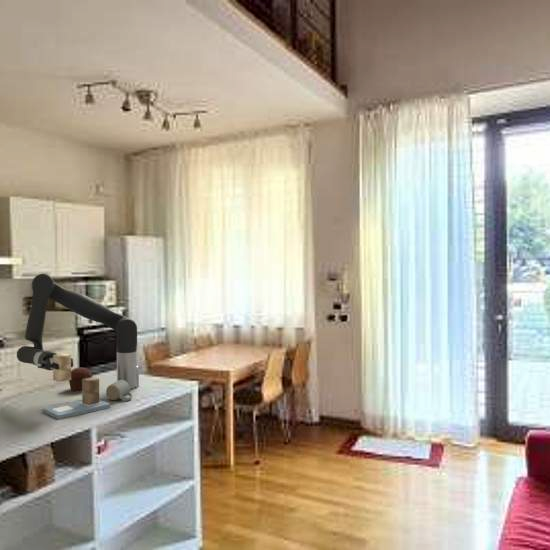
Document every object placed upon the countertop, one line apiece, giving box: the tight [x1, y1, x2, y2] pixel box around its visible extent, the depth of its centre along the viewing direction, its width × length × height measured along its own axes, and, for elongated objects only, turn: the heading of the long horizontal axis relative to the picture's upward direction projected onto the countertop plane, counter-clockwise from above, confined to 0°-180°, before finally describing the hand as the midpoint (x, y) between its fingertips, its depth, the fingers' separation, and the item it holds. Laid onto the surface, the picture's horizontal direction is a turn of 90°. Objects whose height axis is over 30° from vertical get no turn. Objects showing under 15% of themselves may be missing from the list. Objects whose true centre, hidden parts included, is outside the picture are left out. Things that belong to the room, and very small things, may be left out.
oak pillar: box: [52, 352, 72, 383], centre depth 214 cm, size 5×5×10 cm
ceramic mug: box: [105, 380, 133, 402], centre depth 235 cm, size 11×8×8 cm
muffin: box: [68, 366, 94, 392], centre depth 252 cm, size 12×11×10 cm
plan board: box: [42, 399, 112, 420], centre depth 219 cm, size 22×14×2 cm, turn 137°
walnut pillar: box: [81, 376, 100, 405], centre depth 223 cm, size 5×5×10 cm
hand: (65, 365), depth 212 cm, fingers closed on oak pillar, 5 cm apart
